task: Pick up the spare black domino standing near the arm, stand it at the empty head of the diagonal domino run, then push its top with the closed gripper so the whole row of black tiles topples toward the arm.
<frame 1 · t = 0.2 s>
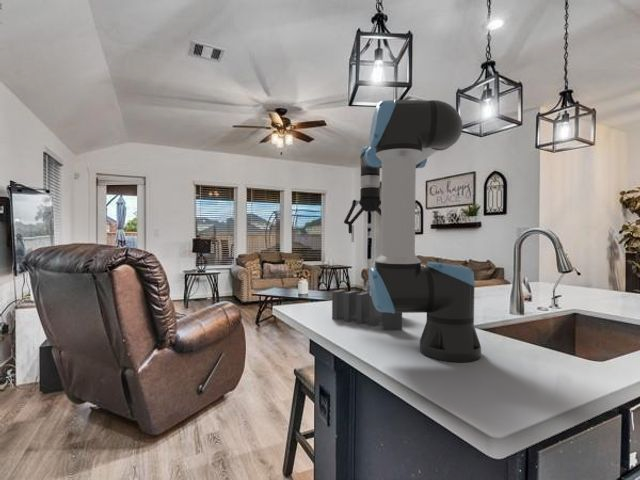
hand: (369, 242, 143), 27 cm above the worktop, fingers open, 13 cm apart
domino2: (339, 317, 134), on the worktop
domino4: (363, 321, 128), on the worktop
mug: (386, 316, 137), on the worktop
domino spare: (392, 329, 118), on the worktop
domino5: (375, 323, 125), on the worktop
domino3: (350, 319, 131), on the worktop
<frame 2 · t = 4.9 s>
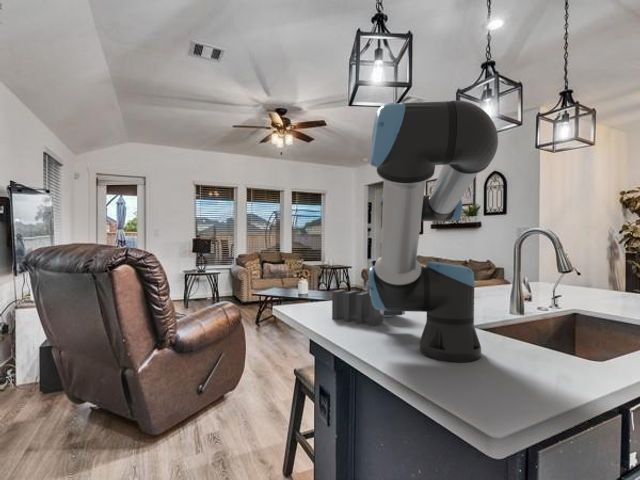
hand: (392, 313, 117), 5 cm above the worktop, fingers closed on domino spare, 6 cm apart
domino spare: (392, 314, 117), point 5 cm above the worktop, touching gripper
everything else where it was.
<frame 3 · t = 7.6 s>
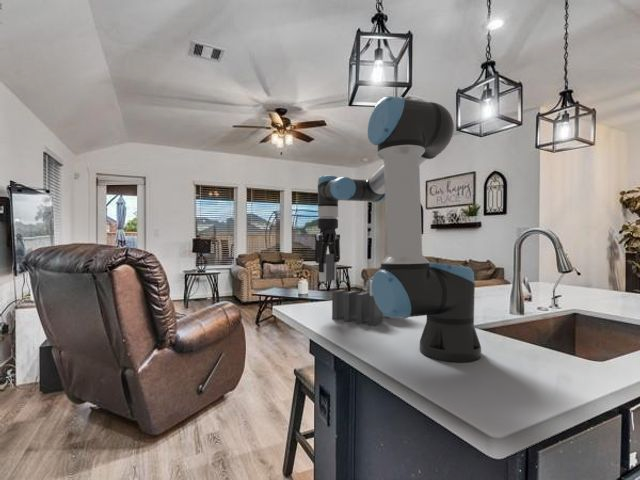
hand: (327, 280, 136), 13 cm above the worktop, fingers closed on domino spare, 6 cm apart
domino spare: (327, 280, 137), point 13 cm above the worktop, touching gripper
everything else where it was.
when the fingers open (0 cm above the worktop, at t = 10.5 s): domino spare stays where it is, on the worktop.
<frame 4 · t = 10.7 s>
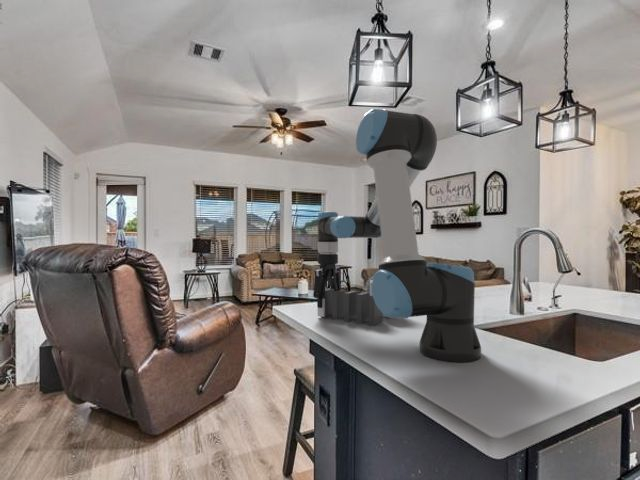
hand: (327, 314, 137), 1 cm above the worktop, fingers open, 8 cm apart
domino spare: (327, 316, 137), on the worktop
everything else where it was.
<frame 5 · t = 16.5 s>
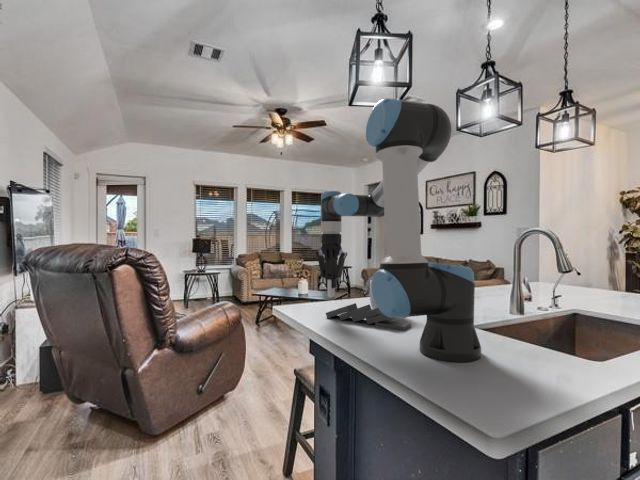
hand: (331, 296, 136), 7 cm above the worktop, fingers closed
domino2: (343, 316, 132), point 1 cm above the worktop, tilted 67°, touching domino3
domino4: (370, 319, 126), point 1 cm above the worktop, tilted 71°, touching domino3, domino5
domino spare: (330, 314, 136), point 1 cm above the worktop, tilted 68°
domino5: (379, 323, 124), on the worktop, tilted 90°, touching domino4
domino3: (356, 317, 130), point 1 cm above the worktop, tilted 67°, touching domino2, domino4
everything else where it was.
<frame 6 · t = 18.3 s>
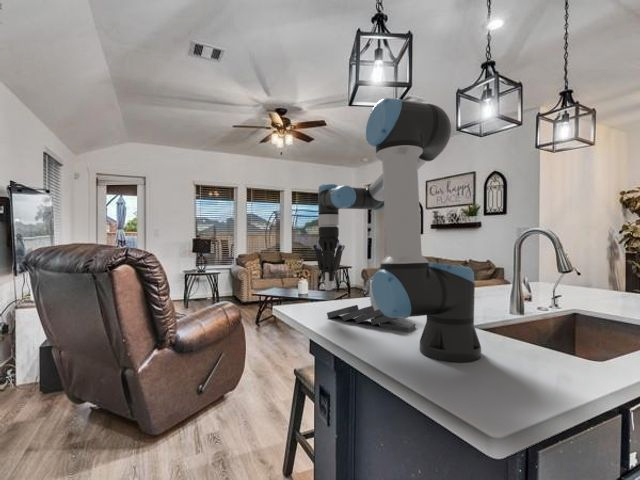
hand: (328, 289, 136), 10 cm above the worktop, fingers closed
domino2: (347, 316, 131), point 1 cm above the worktop, tilted 67°, touching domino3, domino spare
domino4: (376, 320, 124), point 1 cm above the worktop, tilted 70°, touching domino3, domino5
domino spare: (332, 314, 136), point 1 cm above the worktop, tilted 71°, touching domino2
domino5: (383, 324, 123), on the worktop, tilted 90°, touching domino4
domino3: (360, 318, 128), point 1 cm above the worktop, tilted 66°, touching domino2, domino4
everything else where it was.
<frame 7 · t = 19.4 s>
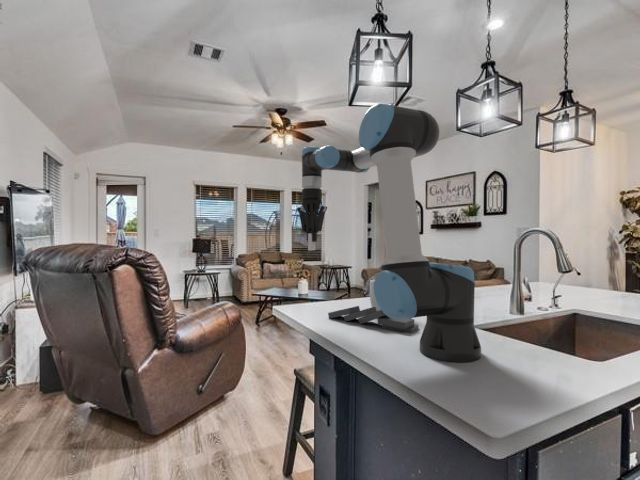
hand: (311, 250, 140), 24 cm above the worktop, fingers closed
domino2: (349, 317, 131), point 1 cm above the worktop, tilted 68°, touching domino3, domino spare
domino4: (382, 319, 122), point 2 cm above the worktop, tilted 90°, touching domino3, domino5
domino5: (386, 325, 122), on the worktop, tilted 90°, touching domino4
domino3: (364, 319, 127), point 1 cm above the worktop, tilted 65°, touching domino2, domino4
everything else where it was.
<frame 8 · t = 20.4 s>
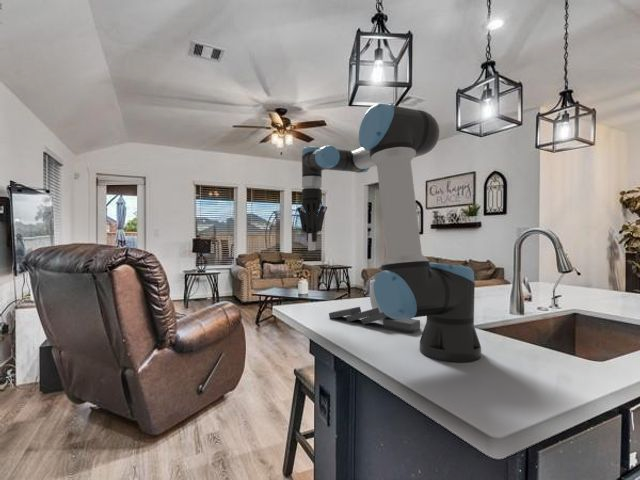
hand: (311, 250, 140), 24 cm above the worktop, fingers closed
domino4: (387, 320, 121), point 2 cm above the worktop, tilted 90°, touching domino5
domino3: (367, 320, 126), point 1 cm above the worktop, tilted 68°, touching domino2
at the end: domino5 tilted 90°; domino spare tilted 74° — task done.
